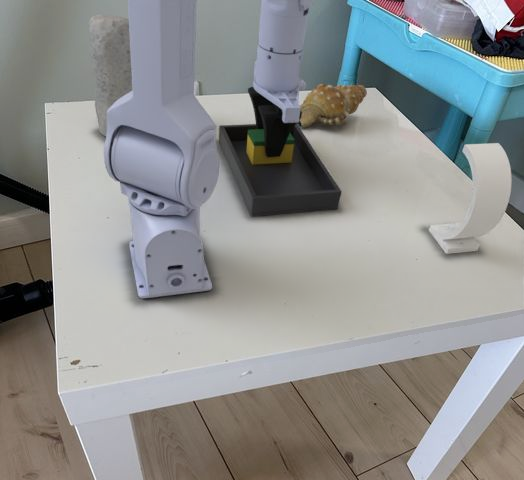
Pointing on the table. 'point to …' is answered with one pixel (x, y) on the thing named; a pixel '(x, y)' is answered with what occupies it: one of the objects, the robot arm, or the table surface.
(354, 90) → the seashell
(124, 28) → the decorative stone
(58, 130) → the table surface
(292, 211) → the tray
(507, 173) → the headphone stand
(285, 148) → the sponge
